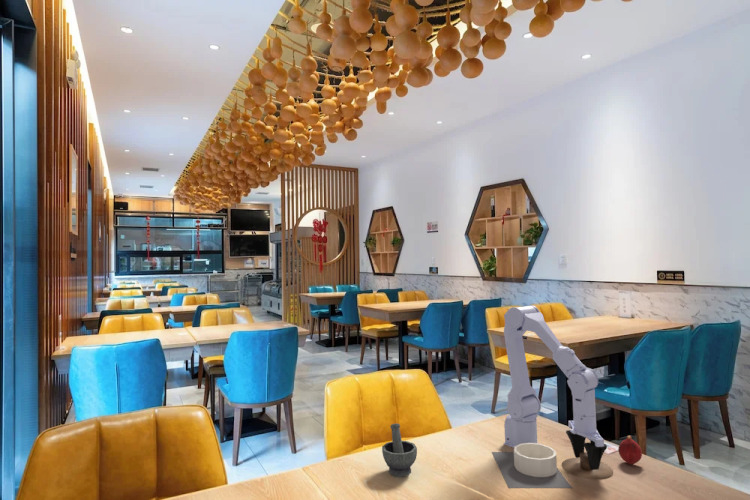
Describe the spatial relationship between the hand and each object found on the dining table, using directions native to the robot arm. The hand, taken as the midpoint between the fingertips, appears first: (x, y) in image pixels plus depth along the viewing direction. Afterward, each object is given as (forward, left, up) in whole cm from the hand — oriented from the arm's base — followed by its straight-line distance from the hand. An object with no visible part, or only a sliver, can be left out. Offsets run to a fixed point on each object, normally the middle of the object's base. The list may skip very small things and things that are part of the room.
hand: (586, 462), depth 125 cm
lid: (0, 0, -2) cm, 2 cm away
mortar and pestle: (-35, -38, -2) cm, 52 cm away
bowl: (-9, -10, -1) cm, 14 cm away
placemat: (-11, -12, -2) cm, 16 cm away
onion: (+7, +12, -2) cm, 14 cm away
